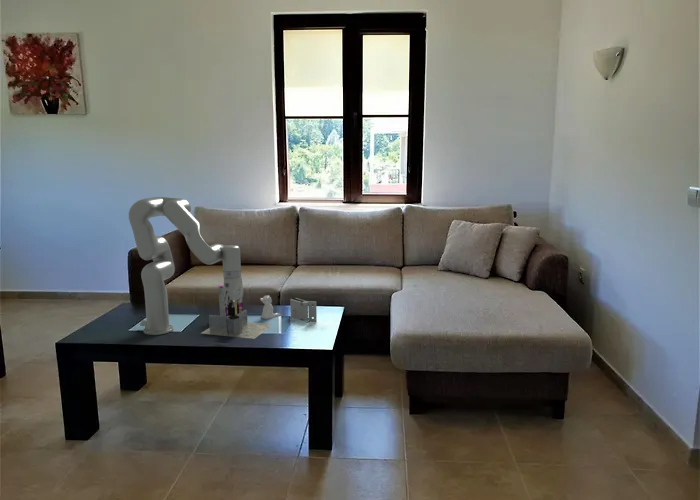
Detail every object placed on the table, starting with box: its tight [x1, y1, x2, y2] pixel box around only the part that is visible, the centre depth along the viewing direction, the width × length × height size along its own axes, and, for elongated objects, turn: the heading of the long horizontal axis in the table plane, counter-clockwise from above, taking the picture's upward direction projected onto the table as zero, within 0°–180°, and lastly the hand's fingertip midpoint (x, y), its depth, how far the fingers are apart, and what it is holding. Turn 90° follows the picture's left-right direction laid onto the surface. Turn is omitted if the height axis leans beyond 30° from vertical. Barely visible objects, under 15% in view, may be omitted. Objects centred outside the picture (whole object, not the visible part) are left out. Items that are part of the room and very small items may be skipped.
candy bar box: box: [217, 284, 244, 316], centre depth 265 cm, size 11×5×16 cm, turn 143°
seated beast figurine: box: [259, 294, 282, 320], centre depth 262 cm, size 10×9×12 cm
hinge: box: [289, 297, 318, 324], centre depth 259 cm, size 14×5×10 cm, turn 59°
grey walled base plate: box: [200, 309, 274, 340], centre depth 244 cm, size 26×20×8 cm
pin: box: [230, 300, 237, 319], centre depth 238 cm, size 3×3×10 cm
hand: (233, 314), depth 238 cm, fingers closed on pin, 3 cm apart
